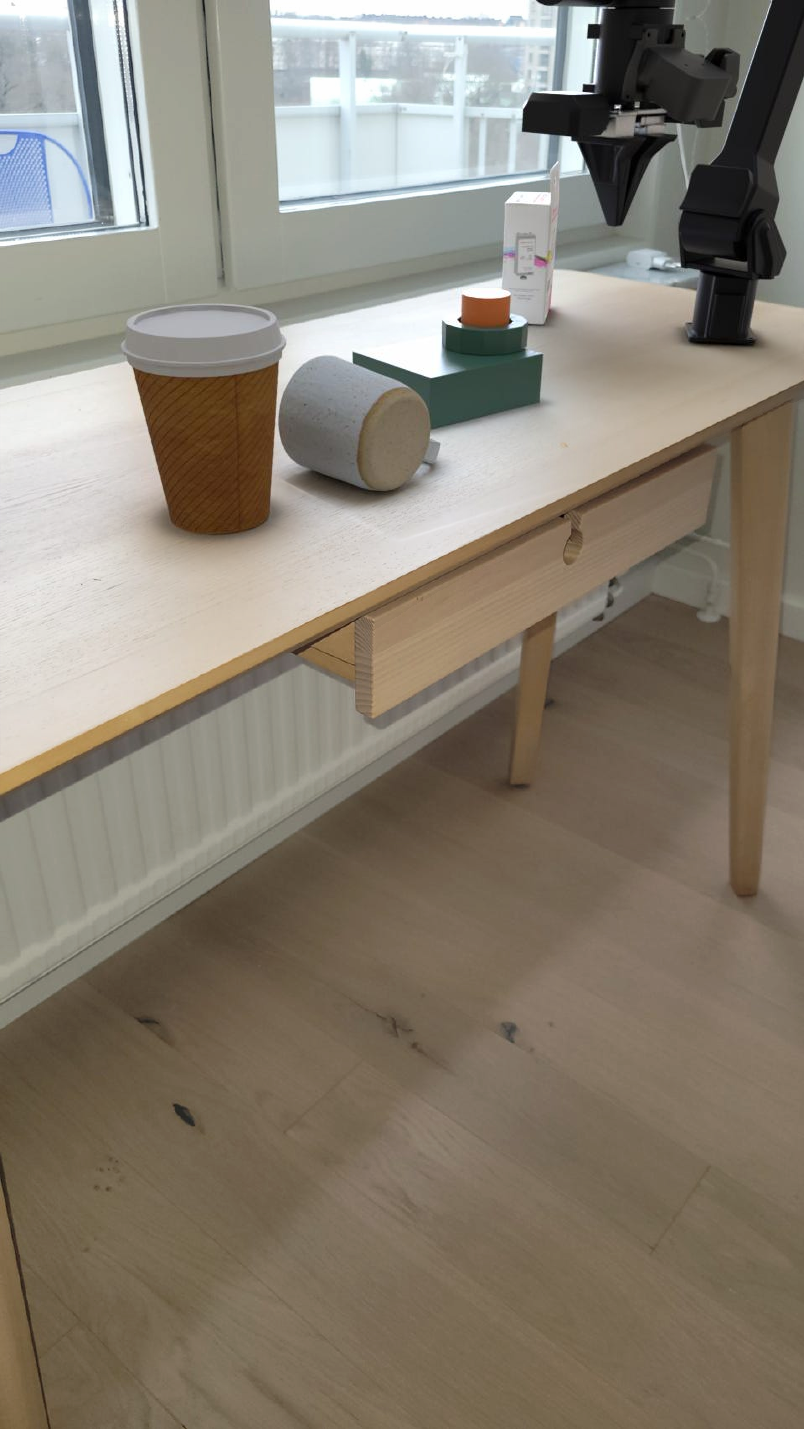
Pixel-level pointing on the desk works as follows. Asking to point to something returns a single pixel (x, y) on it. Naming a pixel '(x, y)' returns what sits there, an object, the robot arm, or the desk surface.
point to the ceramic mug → (355, 424)
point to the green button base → (463, 369)
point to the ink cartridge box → (531, 250)
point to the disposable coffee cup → (209, 408)
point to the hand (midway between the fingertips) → (614, 226)
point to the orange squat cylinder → (485, 307)
